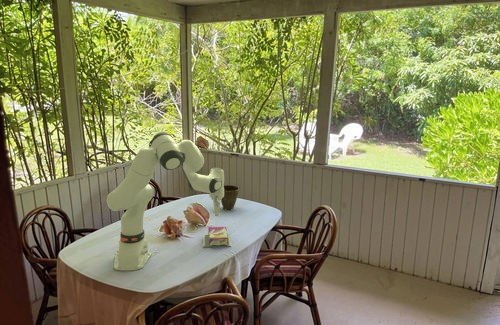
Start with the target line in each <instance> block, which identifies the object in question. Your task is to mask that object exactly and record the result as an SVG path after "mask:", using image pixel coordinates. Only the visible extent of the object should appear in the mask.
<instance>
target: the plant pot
mask: <svg viewBox="0 0 500 325" xmlns="http://www.w3.org/2000/svg"><path fill="white" fill-rule="evenodd" d="M239 190H240V188H239V186H236V185H230V184H225V185H224V197H223V198H222V199H221V200H220V204H221V205H222V208H223V210H225V209H226V211H231V209H232V210H234V208H235V205H236V203H237V199H238V196H239Z"/></svg>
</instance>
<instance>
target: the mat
mask: <svg viewBox="0 0 500 325" xmlns="http://www.w3.org/2000/svg"><path fill="white" fill-rule="evenodd" d="M227 234H228V245H214V246H209V237H208V234H202V235H203V236H202V237H203V238H202V239H203V240H202V247H203V248H231V247H232V243H231V237H230V234H229V233H227Z"/></svg>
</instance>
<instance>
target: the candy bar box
mask: <svg viewBox="0 0 500 325" xmlns="http://www.w3.org/2000/svg"><path fill="white" fill-rule="evenodd" d="M207 230H208V232H207V235H208V237H209V246H214V245H228V234H229V233H228V231H227V226H208V229H207Z"/></svg>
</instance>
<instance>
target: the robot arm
mask: <svg viewBox="0 0 500 325" xmlns="http://www.w3.org/2000/svg"><path fill="white" fill-rule="evenodd" d="M204 163H205V157H204V155H203V154H202V152H201V150H200V149H199V148H198V146H197V145H196V144H195V143H194V142H193V141H192V140H190V139H184V140H183V139H182V140H181V141H179V142H178V143H176V141H175V139H174V137H173V136H172V135H171V133H169V132H167V131H160V132H158V133H156V134H155V135H154V136H153V137H152V138H151V140H150V141H149V142H148V147H143V148H140V149H139V151H138V152H137V153H136V155H134V158H133V160H132V163H131V166H130V167H129V169H128V172H127V174H126V176H125V177H124V179H123V180H122V181H121V182H120V184H119V185H118V186H117V187H115V188H114V189H113V190H112V191H111V192H110V193H108V195H106V205H107V206H108V208H109V209H110V210H111V211H114V212H120V211H125V210H126V211H125V212H124V213H123V215H121V218H120V235H119V236H120V238H119V241H118V250H117V252H116V253H115V254H114V263H113V269H114V270H115V271H123V272H124V271H137V270H140V269H143V268H144V266H145V265H146V263H148V261H149V260H150V258H151V257H152V252H150V251H149V246H148V244H149V243H148V240H147V239H146V238H145V229H144V216H145V212H146V209H147V206H148V204H149V202H150V201H151V200H152V199H153V197H154V190H153V187H152V186H151V185H150V184H149V183H150V181H151V179H152V177H153V175H154V172H155V169H156V166H157V165H158V164H160V165H161V166H162V168H163V169H164V170H167V171H173V170H176V169H178V168H179V167H180V166H181V170H182V172H183V174H184V176H185V178H186V180H187V184H188V187H189V189H190V190H191V191H194V192H203V193H207V194H209V196H208V197H209V198H210V199H211V200H212V203H213V204H212V205H213V207H212V208H213V213H214V217H218V216H219V215H220V213H221V199H222V198H223V197H224V184H225V172H224V169H223V168H220V167H212V168H210V170H209V171H210V172H209V174H208V175H206V174H199V173H197V172H198V171H200V170H201V169H202V168H203V166H204Z"/></svg>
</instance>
